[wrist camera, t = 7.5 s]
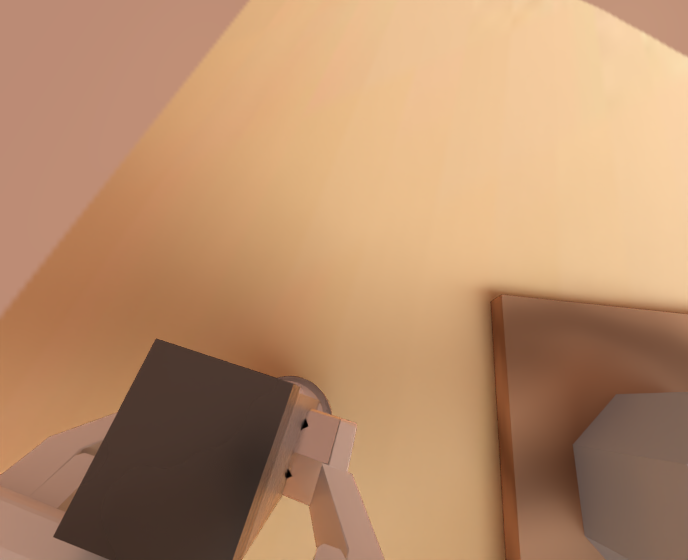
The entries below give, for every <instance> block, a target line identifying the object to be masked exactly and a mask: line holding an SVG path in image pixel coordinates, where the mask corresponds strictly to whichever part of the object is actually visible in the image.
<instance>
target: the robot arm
mask: <svg viewBox="0 0 688 560" xmlns="http://www.w3.org/2000/svg"><path fill="white" fill-rule="evenodd" d="M117 413H118V412H117ZM117 413H114V414H111V415H108V416H106V417H103V418H100V419H97V420H95V421H92V422H89V423H86V424H83V425H81V426H78V427H75V428H72V429H70V430H67V431H64V432H61V433H59V434H56V435H53V436H50V437H48V438H47V439H46V440H45V441H43V442H42V443H41V444H39V445H38V446H37V447H36V448H34V449H33V450H32V451H31V452H29V453H28V454H27V455H25V456H24V457H23V458H22V459H20V460H19V461H18V462H17V463H15V464H14V465H13V466H12V467H10V468H9V469H8V470H6V471H5V472H4V473H3V474H1V475H0V560H109V559H106V558H104V557H101V556H99V555H96V554H94V553H91V552H89V551H86V550H84V549H81V548H79V547H76V546H74V545H71V544H69V543H66V542H64V541H61V540H59V539H56V538H54V537H53V536H54V534H55V532H56V530H57V528H58V526H59V524H60V522H61V520H62V518H63V516H64V514H65V512H66V511H67V509H68V507H69V505H70V503H71V501H72V499H73V497H74V495H75V493H76V491H77V489H78V488H79V486H80V484H81V482H82V480H83V478H84V476H85V474H86V472H87V470H88V468H89V466H90V464H91V463H92V461H93V459H94V457H95V455H96V453H97V451H98V449H99V447H100V445H101V443H102V441H103V439H104V438H105V436H106V434H107V432H108V430H109V428H110V426H111V424H112V422H113V420H114V418H115V416H116V415H117ZM356 429H357V423H355V422H352V421H348V420H345V419H342V418H341V419H340V417H337V416H334V415H331V414H327V413H324V412H321V411H318V410H315V409H312V408H310V409H309V411H308V413H307V416H306V419H305V423H304V427H303V429H302V430H301V431H300V433H299V436H298V438H297V441H296V443H295V446H294V448H293V451H292V455H291V459H290V464H289V468H288V469H289V472H288V475H287V477H286V481H285V485H284V489H283V493H282V495H284V496H286V497H289V498H291V499H294V500H296V501H299V502H301V503H304V504H306V505H309V506H310V507H309V509H310V514H311V520H312V525H313V531H314V536H315V542H316V547H317V550H316V553H315V556H314V559H313V560H384V557H383V554H382V552H381V549H380V546H379V544H378V541H377V538H376V536H375V533H374V530H373V528H372V525H371V522H370V520H369V517H368V514H367V512H366V509H365V506H364V504H363V501H362V498H361V496H360V493H359V490H358V488H357V485H356V482H355V480H354V477H353V474H351V473H349V472H348V467H349V462H350V458H351V453H352V448H353V443H354V438H355V434H356Z"/></svg>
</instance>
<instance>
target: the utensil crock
mask: <svg viewBox="0 0 688 560" xmlns="http://www.w3.org/2000/svg"><path fill="white" fill-rule="evenodd" d="M573 451H574V458H575V466H576V473H577V481H578V489H579V496H580V504H581V512H582V519H583V527H584V535H585V537H586V538H587V539H588V540H589V541H590V542H591V543H592V545H593V546H594V547H595V548H596V549H597V550H598V551H599V553H600V554H601V555H602V556H603V557H604V558H605V559H606V560H688V392H666V393H636V394H616V395H615V396H614V397H613V399H612V400H611V401H610V402H609V403H608V404H607V405H606V407H605V408H604V409H603V410H602V411H601V412H600V414H599V415H598V416H597V417H596V418H595V419H594V421H593V422H592V423H591V424H590V425H589V426H588V428H587V429H586V430H585V431H584V432H583V433H582V435H581V436H580V437H579V438H578V439H577V440H576V441H575V443H574V444H573Z"/></svg>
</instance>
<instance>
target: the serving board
mask: <svg viewBox="0 0 688 560" xmlns="http://www.w3.org/2000/svg"><path fill="white" fill-rule="evenodd" d="M491 313H492V330H493V347H494V364H495V381H496V398H497V415H498V432H499V448H500V465H501V482H502V499H503V516H504V533H505V550H506V560H606V559H605V558H604V557H603V556H602V555H601V554H600V553H599V551H598V550H597V549H596V548H595V547H594V546H593V545H592V543H591V542H590V541H589V540H588V539H587V538H586V537H585V535H584V527H583V519H582V512H581V504H580V496H579V489H578V481H577V473H576V466H575V458H574V451H573V444H574V443H575V441H576V440H577V439H578V438H579V437H580V436H581V435H582V433H583V432H584V431H585V430H586V429H587V428H588V426H589V425H590V424H591V423H592V422H593V421H594V419H595V418H596V417H597V416H598V415H599V414H600V412H601V411H602V410H603V409H604V408H605V407H606V405H607V404H608V403H609V402H610V401H611V400H612V399H613V397H614V396H615V395H616V394H636V393H666V392H688V314H681V313H672V312H662V311H653V310H643V309H634V308H624V307H615V306H605V305H596V304H586V303H577V302H567V301H558V300H548V299H539V298H529V297H520V296H510V295H500V296H499V297H497V298H496V299H494V300H493V301H491Z"/></svg>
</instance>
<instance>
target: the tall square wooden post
mask: <svg viewBox="0 0 688 560" xmlns="http://www.w3.org/2000/svg"><path fill="white" fill-rule="evenodd" d="M310 408H312V409H315V410H318V411H321V412H324V413H327V414H331V415H332V410H331V407H330V404H329V401H328V400H327V398H326V396H325V395H324V393H323V392H322V391H321V390H320V389H319V388H318V387H317V386H316V385H314V384H313V383H312V382H310V381H308V380H306V379H303V378H300V377H295V376H284V377H279V378H275V377H272V376H269V375H266V374H263V373H260V372H257V371H254V370H251V369H248V368H244V367H241V366H238V365H235V364H232V363H229V362H226V361H223V360H220V359H217V358H214V357H211V356H208V355H205V354H202V353H199V352H196V351H193V350H190V349H187V348H184V347H181V346H178V345H174V344H171V343H168V342H165V341H162V340H159V339H156V340H155V342H154V343H153V345H152V347H151V349H150V351H149V353H148V355H147V357H146V359H145V361H144V363H143V365H142V366H141V368H140V370H139V372H138V374H137V376H136V378H135V380H134V382H133V384H132V386H131V388H130V390H129V391H128V393H127V395H126V397H125V399H124V401H123V403H122V405H121V407H120V409H119V411H118V413H117V415H116V416H115V418H114V420H113V422H112V424H111V426H110V428H109V430H108V432H107V434H106V436H105V438H104V439H103V441H102V443H101V445H100V447H99V449H98V451H97V453H96V455H95V457H94V459H93V461H92V463H91V464H90V466H89V468H88V470H87V472H86V474H85V476H84V478H83V480H82V482H81V484H80V486H79V488H78V489H77V491H76V493H75V495H74V497H73V499H72V501H71V503H70V505H69V507H68V509H67V511H66V512H65V514H64V516H63V518H62V520H61V522H60V524H59V526H58V528H57V530H56V532H55V534H54V536H53V537H54V538H56V539H59V540H61V541H64V542H66V543H69V544H71V545H74V546H76V547H79V548H81V549H84V550H86V551H89V552H91V553H94V554H96V555H99V556H101V557H104V558H106V559H109V560H242V559H243V557H244V556H245V554H246V552H247V551H248V549H249V548H250V546H251V544H252V543H253V541H254V540H255V538H256V536H257V535H258V533H259V532H260V530H261V528H262V527H263V525H264V524H265V522H266V520H267V519H268V517H269V516H270V514H271V512H272V511H273V509H274V508H275V506H276V505H277V503H278V501H279V500H280V498H281V497H282V493H283V489H284V485H285V481H286V477H287V475H288V472H289V469H288V468H289V464H290V459H291V455H292V451H293V448H294V446H295V443H296V441H297V438H298V436H299V433H300V431H301V430H302V429H303V427H304V423H305V419H306V416H307V413H308V411H309V409H310Z"/></svg>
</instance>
